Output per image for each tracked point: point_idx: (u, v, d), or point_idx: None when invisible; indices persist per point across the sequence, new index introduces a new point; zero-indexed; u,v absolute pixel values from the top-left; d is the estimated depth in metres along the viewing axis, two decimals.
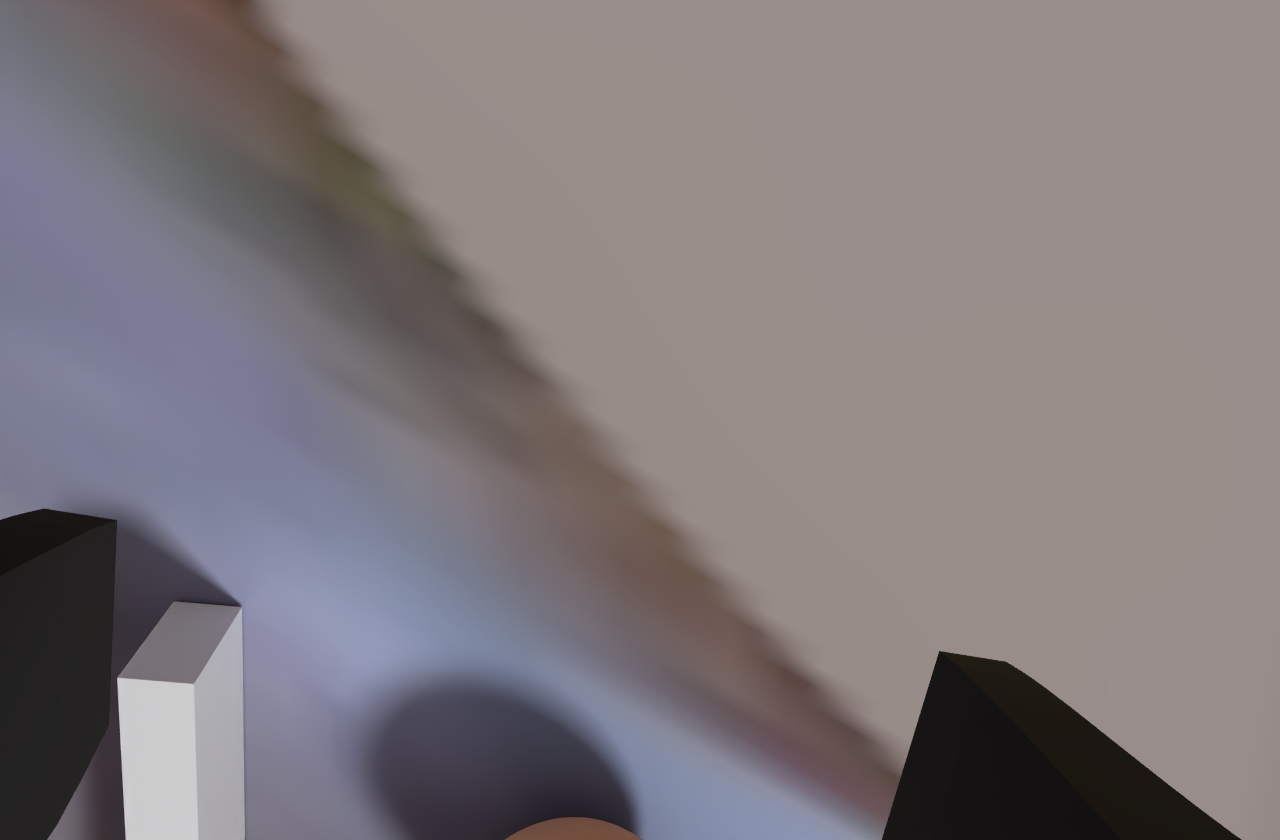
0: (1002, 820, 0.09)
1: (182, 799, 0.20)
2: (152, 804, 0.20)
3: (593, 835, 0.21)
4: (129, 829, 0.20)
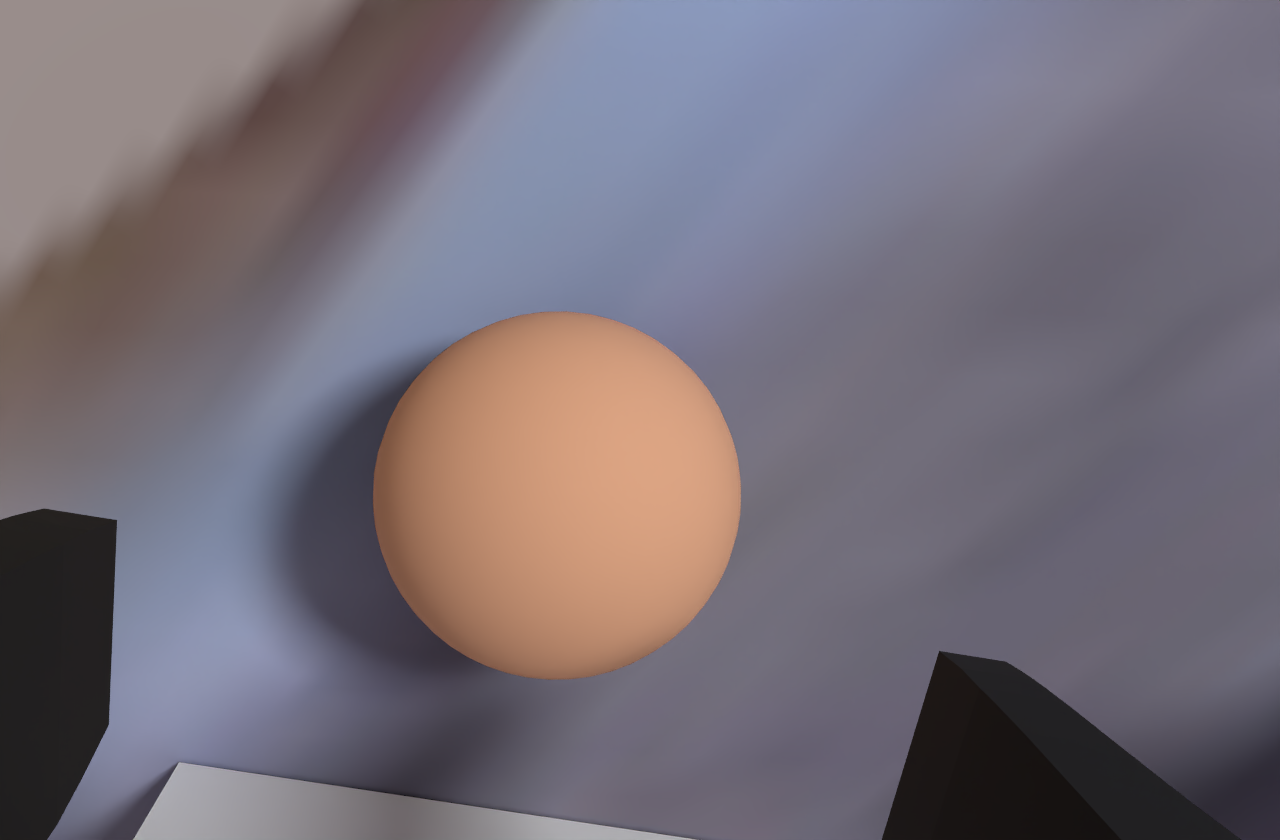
0: (1003, 822, 0.09)
1: None
2: None
3: None
4: None
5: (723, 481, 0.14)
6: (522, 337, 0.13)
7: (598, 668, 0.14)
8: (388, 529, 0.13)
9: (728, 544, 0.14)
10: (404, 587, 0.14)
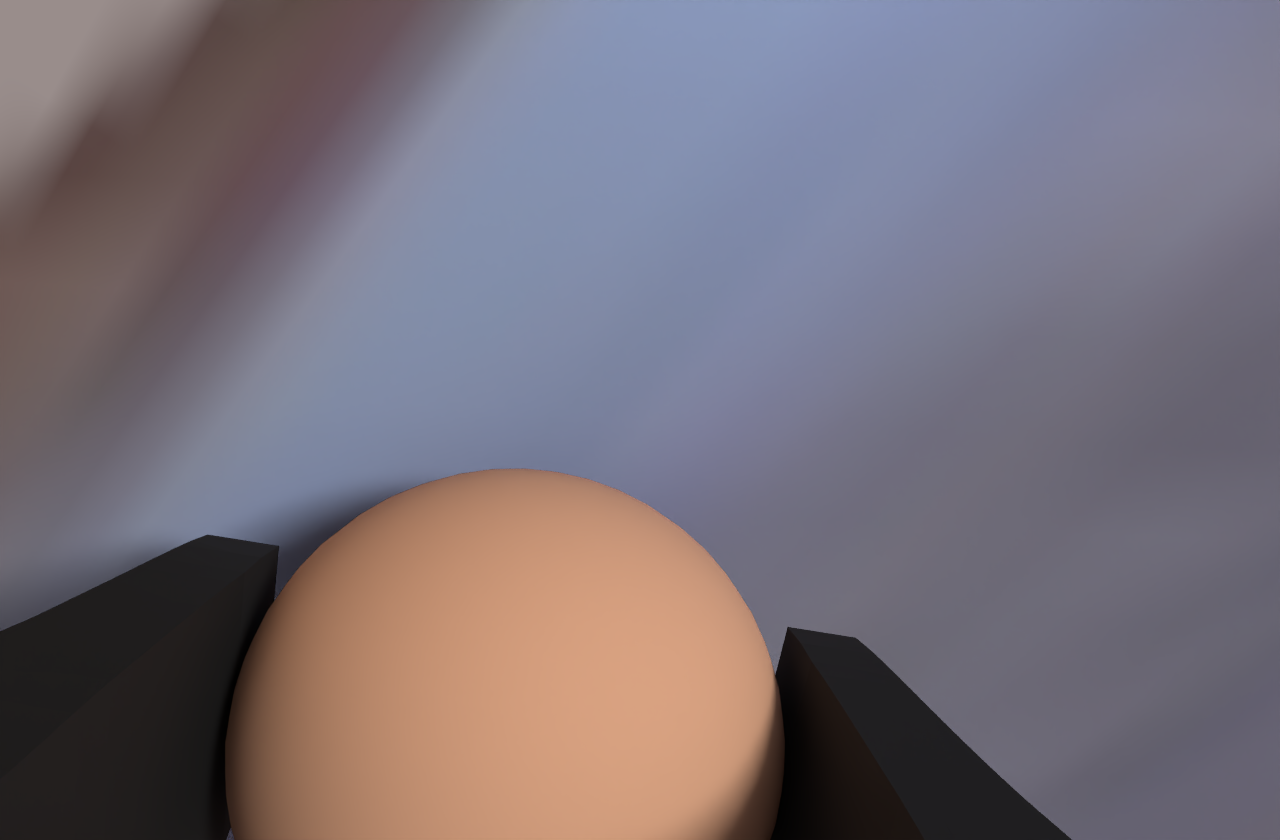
0: (821, 794, 0.09)
1: None
2: None
3: None
4: None
5: (762, 749, 0.09)
6: (446, 532, 0.09)
7: None
8: (239, 833, 0.09)
9: (768, 836, 0.09)
10: None
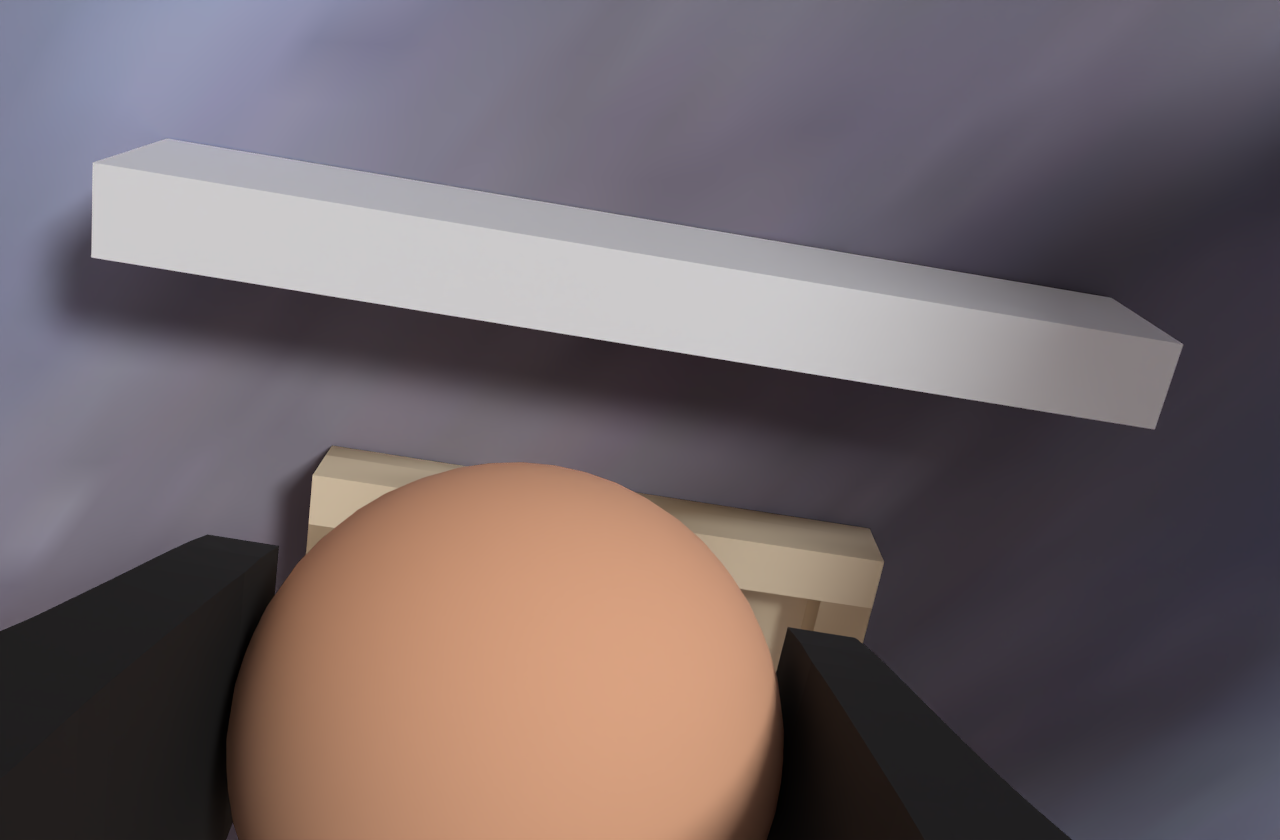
0: (821, 794, 0.09)
1: (273, 211, 0.15)
2: (282, 252, 0.15)
3: None
4: (335, 293, 0.15)
5: (762, 737, 0.09)
6: (448, 525, 0.09)
7: None
8: (244, 828, 0.09)
9: (769, 824, 0.09)
10: None
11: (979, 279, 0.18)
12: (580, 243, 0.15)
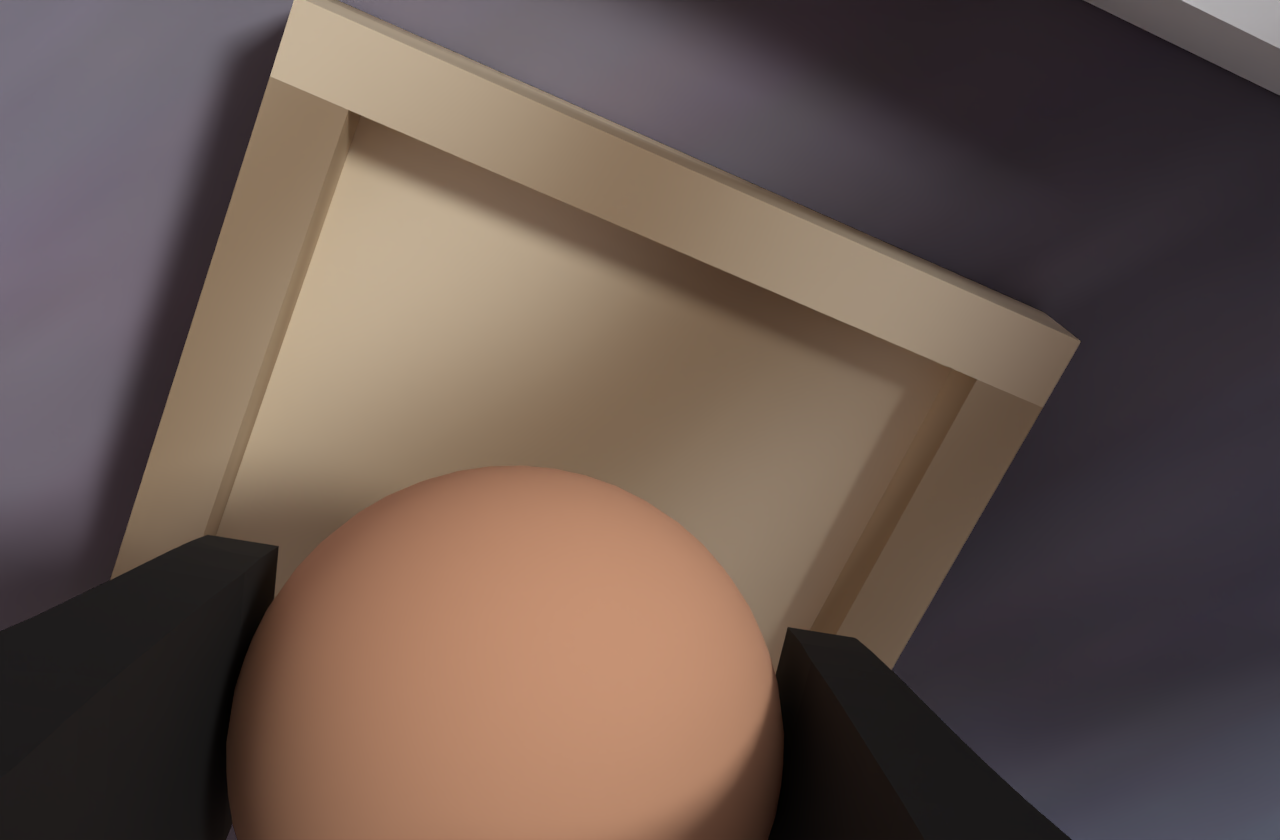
0: (821, 794, 0.09)
1: None
2: None
3: None
4: None
5: (762, 741, 0.09)
6: (448, 529, 0.09)
7: None
8: (242, 831, 0.09)
9: (769, 827, 0.09)
10: None
11: None
12: None
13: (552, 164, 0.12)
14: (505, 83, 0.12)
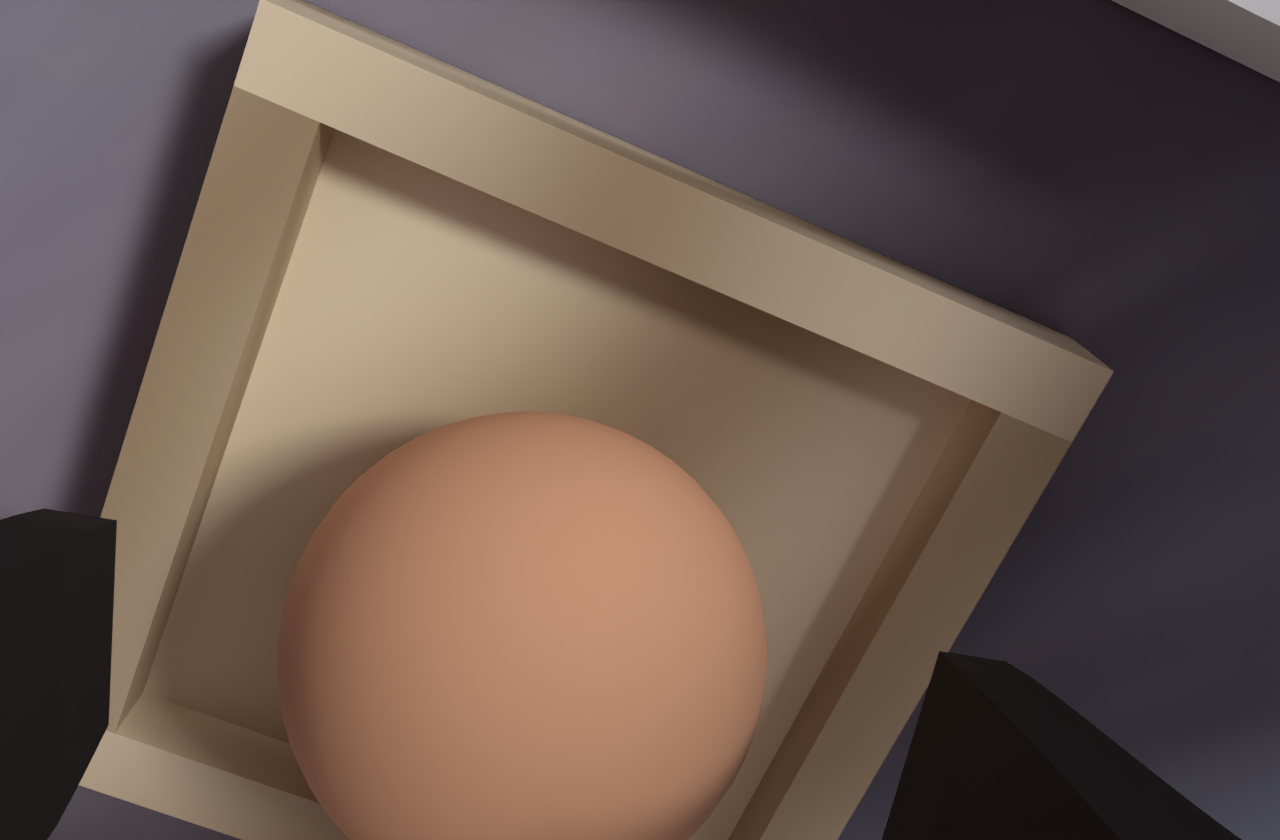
0: (1002, 820, 0.09)
1: None
2: None
3: None
4: None
5: (747, 645, 0.10)
6: (473, 460, 0.10)
7: None
8: (295, 722, 0.10)
9: (753, 724, 0.10)
10: (318, 797, 0.10)
11: None
12: None
13: (541, 181, 0.11)
14: (490, 93, 0.11)
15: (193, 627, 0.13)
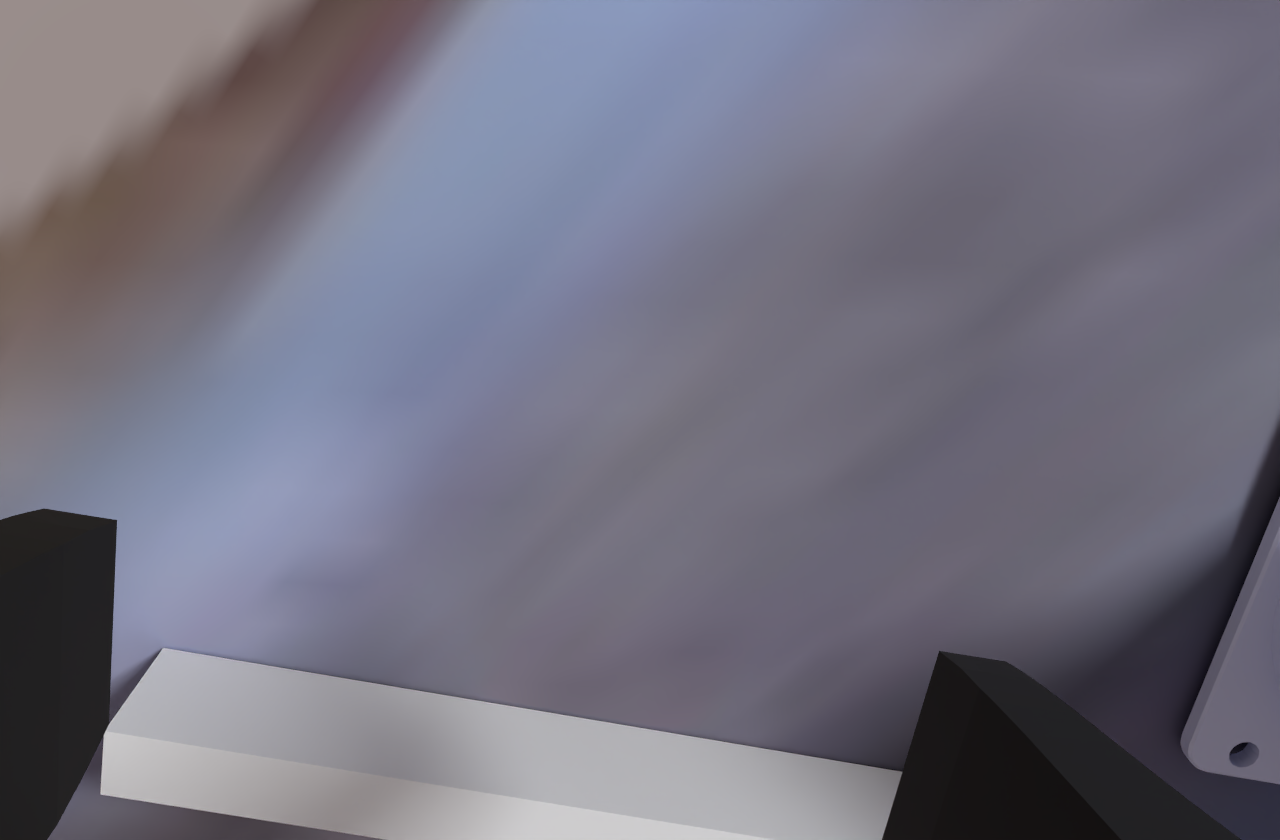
0: (1003, 820, 0.09)
1: (247, 767, 0.19)
2: (253, 794, 0.19)
3: None
4: (294, 818, 0.19)
5: None
6: None
7: None
8: None
9: None
10: None
11: (824, 768, 0.22)
12: (490, 791, 0.19)
13: None
14: None
15: None
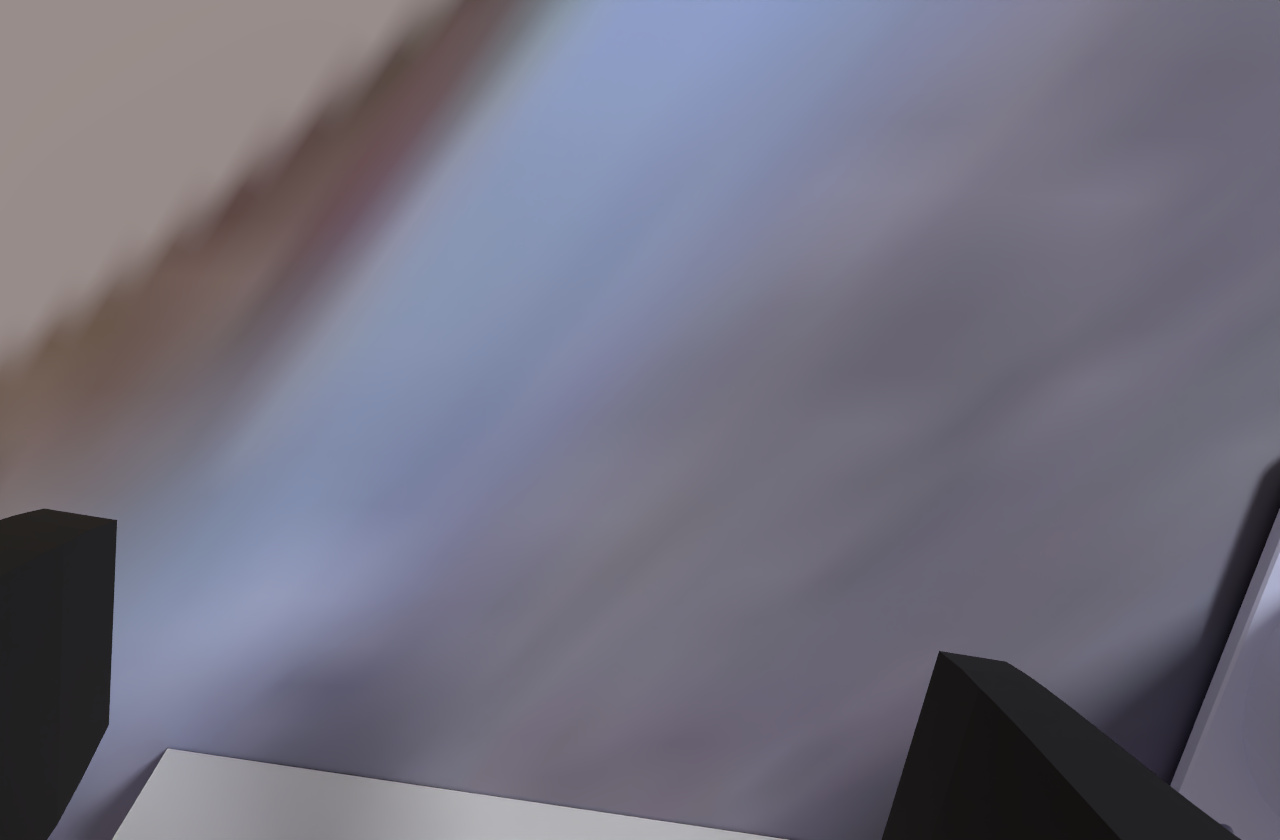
0: (1002, 820, 0.09)
1: None
2: None
3: None
4: None
5: None
6: None
7: None
8: None
9: None
10: None
11: None
12: None
13: None
14: None
15: None
